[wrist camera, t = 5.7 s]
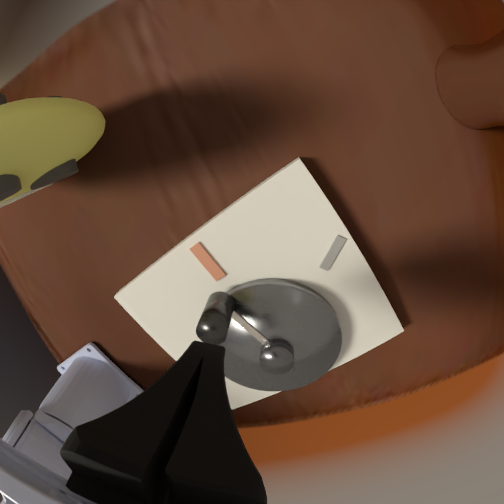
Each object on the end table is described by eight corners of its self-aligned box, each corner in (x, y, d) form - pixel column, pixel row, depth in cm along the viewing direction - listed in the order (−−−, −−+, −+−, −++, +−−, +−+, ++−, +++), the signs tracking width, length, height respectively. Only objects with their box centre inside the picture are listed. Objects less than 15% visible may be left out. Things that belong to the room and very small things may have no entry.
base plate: (233, 401, 27) (231, 410, 26) (119, 290, 23) (112, 297, 22) (400, 323, 22) (404, 332, 20) (298, 157, 18) (299, 158, 17)
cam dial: (365, 340, 21) (376, 380, 17) (267, 397, 25) (264, 435, 21) (268, 240, 19) (264, 271, 15) (171, 323, 22) (152, 359, 18)
